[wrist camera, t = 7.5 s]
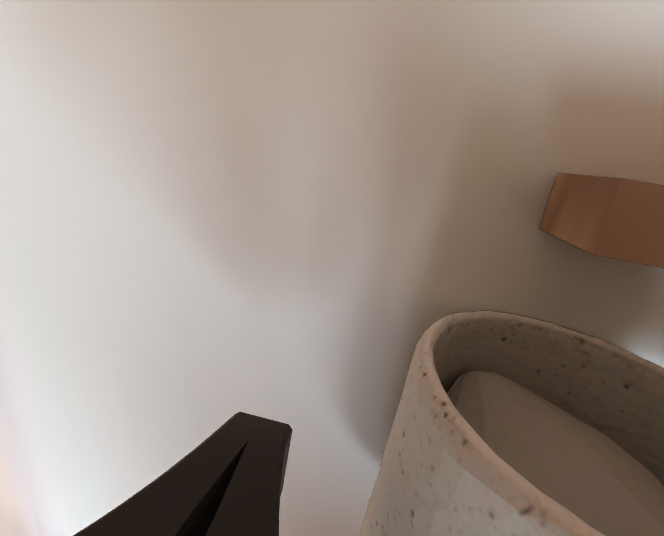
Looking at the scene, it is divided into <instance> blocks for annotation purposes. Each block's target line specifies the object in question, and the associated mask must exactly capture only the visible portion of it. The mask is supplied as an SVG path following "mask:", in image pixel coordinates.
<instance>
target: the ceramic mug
mask: <svg viewBox="0 0 664 536" xmlns="http://www.w3.org/2000/svg"><path fill="white" fill-rule="evenodd" d="M359 536H664V368H662V367H661V366H659V365H657V364H655V363H652V362H650V361H647V360H645V359H643V358H641V357H639V356H637V355H635V354H633V353H631V352H629V351H626V350H624V349H622V348H620V347H617V346H615V345H613V344H611V343H608V342H606V341H604V340H601V339H598V338H595V337H591V336H588V335H585V334H582V333H579V332H576V331H572V330H569V329H567V328H564V327H562V326H559V325H556V324H553V323H550V322H546V321H542V320H537V319H533V318H528V317H524V316H518V315H515V314H508V313H499V312H493V311H476V312H459V313H454V314H450V315H447V316H444V317H442V318H440V319H439V320H437V321H436V322H434V323H433V324H432V325H431V326H430V327H429V328H428V329H427V330H426V331H425V332H424V333H423V335H422V336H421V337H420V339H419V340H418V342H417V345H416V348H415V351H414V354H413V357H412V360H411V363H410V367H409V371H408V374H407V378H406V382H405V386H404V390H403V393H402V396H401V399H400V403H399V406H398V409H397V412H396V415H395V419H394V422H393V425H392V428H391V431H390V435H389V438H388V441H387V444H386V447H385V451H384V454H383V458H382V463H381V467H380V471H379V474H378V477H377V480H376V483H375V486H374V489H373V492H372V496H371V499H370V502H369V505H368V508H367V512H366V515H365V519H364V522H363V525H362V529H361V532H360V535H359Z"/></svg>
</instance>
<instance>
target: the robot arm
mask: <svg viewBox="0 0 664 536" xmlns="http://www.w3.org/2000/svg"><path fill="white" fill-rule="evenodd" d="M291 434H292V429H291V427H290V426H289V424H285V423H281V422H277V421H273V420H270V419H266V418H262V417H258V416H254V415H250V414H246V413H243V412H238V413H237V414H235V415H234V416H233V417H231V418H230V419H229V420H228V421H227V422H226V423H225V424H224V425H222V426H221V427H220V428H219V429H218V430H217V431H216V432H214V433H213V434H212V435H211V436H210V437H209V438H207V439H206V440H205V441H204V442H203V443H201V444H200V445H199V446H198V447H197V448H195V449H194V450H193V451H192V452H190V453H189V454H188V455H187V456H185V457H184V458H183V459H181V460H180V461H179V462H178V463H176V464H175V465H174V466H173V467H171V468H170V469H169V470H168V471H166V472H165V473H164V474H162V475H161V476H160V477H158V478H157V479H156V480H154V481H153V482H151V483H150V484H149V485H147V486H146V487H144V488H143V489H142V490H140V491H139V492H138V493H136V494H135V495H133V496H132V497H131V498H129V499H128V500H126V501H125V502H124V503H122V504H121V505H119V506H118V507H116V508H115V509H113V510H112V511H110V512H109V513H107V514H106V515H104V516H103V517H102V518H100V519H98V520H97V521H95V522H94V523H92V524H91V525H89V526H88V527H86V528H84V529H83V530H81V531H80V532H78V533H76V534H75V535H73V536H279V505H280V496H281V492H282V488H283V482H284V476H285V470H286V464H287V458H288V452H289V446H290V440H291Z"/></svg>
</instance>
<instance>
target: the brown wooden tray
mask: <svg viewBox="0 0 664 536" xmlns="http://www.w3.org/2000/svg"><path fill="white" fill-rule="evenodd" d="M539 229H541V230H543V231H545V232H547V233H549V234H551V235H554V236H556V237H558V238H560V239H562V240H564V241H566V242H568V243H570V244H572V245H574V246H576V247H578V248H580V249H582V250H584V251H586V252H588V253H590V254H592V255H597V256H602V257H608V258H613V259H619V260H624V261H629V262H635V263H640V264H646V265H651V266H657V267H662V268H664V185H658V184H652V183H646V182H640V181H633V180H627V179H620V178H609V177H598V176H586V175H575V174H564V173H557V176H556V179H555V182H554V185H553V188H552V191H551V194H550V197H549V200H548V203H547V206H546V209H545V213H544V216H543V219H542V222H541V225H540V228H539Z"/></svg>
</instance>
